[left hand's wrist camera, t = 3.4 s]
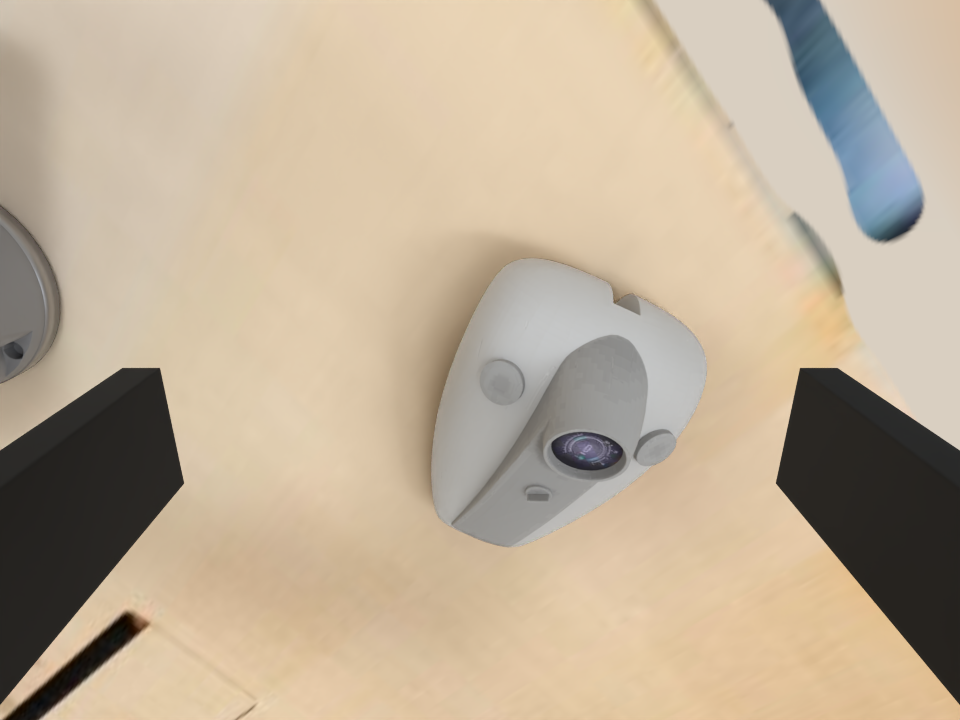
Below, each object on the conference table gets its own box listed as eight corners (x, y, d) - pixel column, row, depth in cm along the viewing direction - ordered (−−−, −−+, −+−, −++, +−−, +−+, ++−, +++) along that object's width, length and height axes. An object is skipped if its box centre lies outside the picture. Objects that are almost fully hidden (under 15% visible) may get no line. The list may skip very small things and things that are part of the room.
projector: (345, 319, 45) (286, 404, 31) (639, 195, 41) (717, 229, 28) (464, 543, 52) (458, 691, 38) (721, 453, 49) (815, 579, 35)
